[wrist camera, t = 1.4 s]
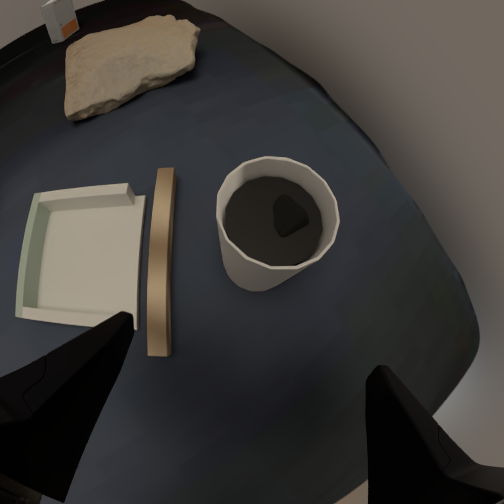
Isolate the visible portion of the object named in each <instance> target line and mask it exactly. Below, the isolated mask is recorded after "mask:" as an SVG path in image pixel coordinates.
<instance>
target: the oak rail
mask: <svg viewBox="0 0 504 504" xmlns="http://www.w3.org/2000/svg"><path fill="white" fill-rule="evenodd" d="M176 183H177V177H176V173H175V169H174V168H158V173H157V180H156V187H155V195H154V204H153V213H152V223H151V234H150V247H149V264H148V288H147V343H148V356H166V357H167V356H169V355H172V350H171V258H172V236H173V220H174V206H175V194H176Z"/></svg>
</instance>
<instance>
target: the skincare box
mask: <svg viewBox="0 0 504 504" xmlns="http://www.w3.org/2000/svg"><path fill="white" fill-rule="evenodd" d="M41 11H42V14H43V17H44V20H45V23H46V26H47V29H48V32H49V35H50V38H51V41H52V43H53V44H54V43H58V42H63V41H64V40H65V39H67V38H68V37H69V36H70V35H72V34H73V33H74V32H76V31H77V30H78V29H79V26H78V22H77V19H76V15H75V11H74V7H73V3H72V0H50V1H49V2H47V3H46V4H44V5H43V6H42V7H41Z"/></svg>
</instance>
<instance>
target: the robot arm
mask: <svg viewBox="0 0 504 504" xmlns="http://www.w3.org/2000/svg"><path fill="white" fill-rule="evenodd" d="M133 336H134V318H133V315H132V314H131V313H128V312H125V311H120V312H118V313H117V314H115V315H113V316H111V317H110V318H108V319H106V320H105V321H103V322H101V323H99V324H98V325H96V326H94V327H92V328H91V329H89V330H87V331H85V332H84V333H82V334H80V335H79V336H77V337H75V338H73V339H72V340H70V341H68V342H66V343H65V344H63V345H61V346H60V347H58V348H56V349H55V350H53V351H51V352H49V353H48V354H47V355H44V356H42V357H41V358H39V359H37V360H36V361H34V362H32V363H30V364H28V365H27V366H24V367H22V368H20V369H18V370H16V371H14V372H12V373H10V374H7V375H5V376H3V377H0V504H40V500H41V497H42V494H43V495H45V496H47V497H50V498H52V499H55V500H57V501H60V502H62V503H64V501H65V499H66V496H67V493H68V490H69V488H70V485H71V482H72V480H73V477H74V474H75V472H76V469H77V467H78V464H79V461H80V459H81V456H82V454H83V452H84V449H85V447H86V444H87V442H88V440H89V437H90V435H91V433H92V431H93V428H94V426H95V424H96V422H97V419H98V417H99V415H100V413H101V411H102V409H103V406H104V404H105V402H106V400H107V398H108V396H109V394H110V392H111V390H112V388H113V385H114V383H115V381H116V379H117V377H118V375H119V373H120V371H121V368H122V366H123V363H124V360H125V357H126V355H127V352H128V349H129V346H130V344H131V341H132V339H133ZM365 418H366V433H367V451H368V504H504V468H501V467H492V466H485V465H480V464H478V463H476V462H474V461H473V460H472V459H471V458H470V457H469V456H468V455H467V454H466V453H465V452H464V451H463V450H462V449H461V448H459V446H458V445H457V444H456V443H455V442H454V441H453V440H452V439H451V438H450V437H449V436H448V435H447V434H446V432H445V431H444V430H443V429H442V428H441V426H439V425H438V423H437V422H436V421H435V420H434V419H433V417H432V416H431V415H430V414H429V413H428V411H427V410H426V409H425V408H424V407H423V406H422V404H421V403H420V402H419V401H418V400H417V399H416V398H415V396H414V395H413V394H412V393H411V392H410V391H409V390H408V388H407V387H406V386H405V385H404V384H403V383H402V382H401V381H400V379H399V378H398V377H397V376H396V375H395V374H394V373H393V372H392V370H391V369H390V368H389V367H388V366H384V365H378V366H376V368H375V369H374V370H373V371H372V372H371V374H370V375H369V376H368V378H367V380H366V407H365Z"/></svg>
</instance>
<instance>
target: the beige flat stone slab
mask: <svg viewBox="0 0 504 504" xmlns="http://www.w3.org/2000/svg"><path fill="white" fill-rule="evenodd" d="M199 32H200V28H198V27H196V26H195V25H193V24H192V23H190V22H189V21H188V20H178V21H177V20H176V19H175V17H174V16H172V15H167V16H165V17H162V16H159V15H157V16H150V17H147V18H146V19H144V20H142V21H140V22H137V23H134V24H132V25H128V26H124V27H121V28H116V29H111V30H106V31H102V32H98V33H93V34H88V35H86V36H85V37H84V38H82V39H80V40H78V41H77V42H74V43H73V44H71V45H70V46H69V47H68V48H67V50H66V51H67V52H66V59H65V61H66V95H65V114H66V117H67V118H68V120H69V121H76V120H83V119H86V118H88V117H91V116H94V115H98V114H103V113H108V112H110V111H112V110H113V109H115V108H118V107H119V106H120V105H121V104H123V103H125V102H127V101H129V100H130V99H132V98H133V97H135V96H136V95H139V94H141V93H143V92H145V91H147V90H151V89H155V88H158V87H162V86H164V85H166V84H168V83H170V82H171V81H173V80H175V78H176V77H178V76H181V75H183V74H184V73H186V72H187V71H191V70H192V69H193V68H194V65H195V49H196V46H197V41H198V36H199Z"/></svg>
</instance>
